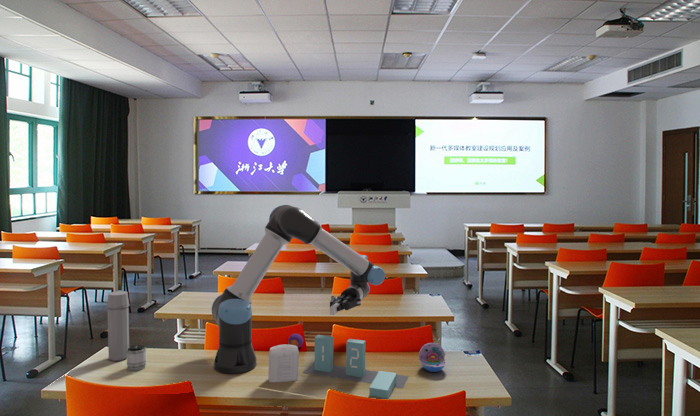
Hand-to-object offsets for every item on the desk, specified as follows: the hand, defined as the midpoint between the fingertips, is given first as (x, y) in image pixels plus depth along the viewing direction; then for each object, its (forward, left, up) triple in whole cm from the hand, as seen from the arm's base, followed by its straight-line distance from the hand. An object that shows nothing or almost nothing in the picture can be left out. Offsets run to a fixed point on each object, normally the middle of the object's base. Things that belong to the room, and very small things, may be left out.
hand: (331, 311), depth 177 cm
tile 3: (+24, -9, -18) cm, 31 cm away
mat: (+12, -7, -20) cm, 24 cm away
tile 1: (0, -7, -19) cm, 21 cm away
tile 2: (+12, -7, -19) cm, 24 cm away
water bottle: (-77, -22, -20) cm, 83 cm away
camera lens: (-64, -28, -20) cm, 73 cm away
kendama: (-18, +3, -20) cm, 27 cm away
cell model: (+37, +7, -20) cm, 43 cm away
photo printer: (-10, -19, -20) cm, 30 cm away
